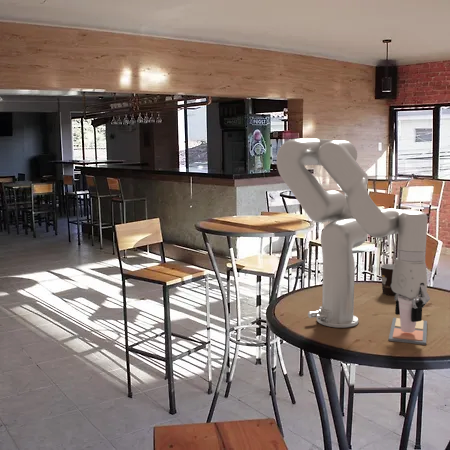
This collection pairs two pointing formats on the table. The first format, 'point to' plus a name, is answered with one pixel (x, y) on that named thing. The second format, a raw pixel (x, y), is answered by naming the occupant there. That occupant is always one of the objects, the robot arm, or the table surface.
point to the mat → (406, 337)
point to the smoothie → (406, 314)
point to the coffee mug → (387, 278)
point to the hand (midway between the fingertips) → (408, 317)
